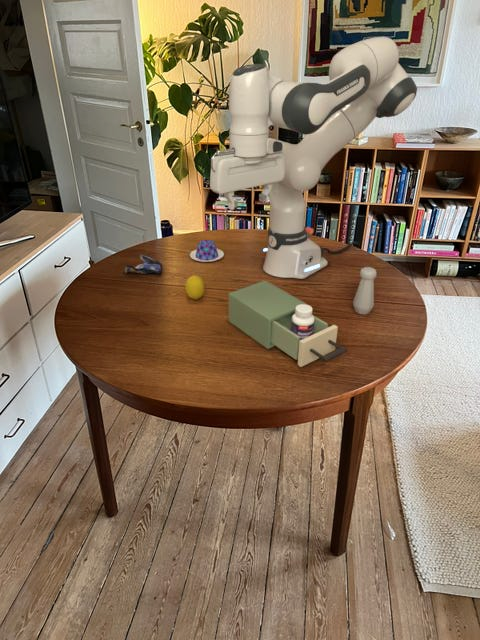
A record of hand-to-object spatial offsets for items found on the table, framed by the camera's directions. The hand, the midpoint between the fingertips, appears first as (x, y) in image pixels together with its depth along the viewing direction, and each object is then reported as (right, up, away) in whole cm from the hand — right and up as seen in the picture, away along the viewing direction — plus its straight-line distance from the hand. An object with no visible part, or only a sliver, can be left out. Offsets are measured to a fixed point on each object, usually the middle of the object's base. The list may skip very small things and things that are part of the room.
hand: (248, 205), depth 113 cm
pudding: (-14, -6, +50) cm, 52 cm away
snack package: (-33, -12, +40) cm, 53 cm away
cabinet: (+5, -30, +11) cm, 32 cm away
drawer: (+14, -35, +1) cm, 38 cm away
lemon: (-15, -22, +24) cm, 36 cm away
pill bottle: (+13, -34, +1) cm, 36 cm away
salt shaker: (+32, -26, +18) cm, 45 cm away
